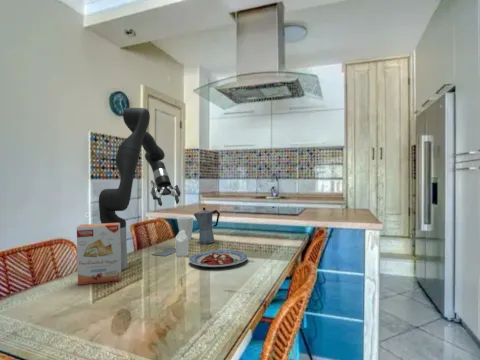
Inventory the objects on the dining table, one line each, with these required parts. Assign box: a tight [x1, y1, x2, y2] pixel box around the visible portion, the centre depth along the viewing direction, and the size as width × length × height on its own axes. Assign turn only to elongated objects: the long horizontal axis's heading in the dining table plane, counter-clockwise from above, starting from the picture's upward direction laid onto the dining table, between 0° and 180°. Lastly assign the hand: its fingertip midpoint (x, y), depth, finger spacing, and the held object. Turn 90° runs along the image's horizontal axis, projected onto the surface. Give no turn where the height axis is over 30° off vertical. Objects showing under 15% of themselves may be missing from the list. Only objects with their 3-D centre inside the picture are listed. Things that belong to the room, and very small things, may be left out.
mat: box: [151, 247, 176, 257], centre depth 152 cm, size 14×8×1 cm, turn 157°
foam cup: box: [177, 216, 194, 240], centre depth 183 cm, size 10×9×13 cm
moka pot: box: [192, 207, 221, 245], centre depth 173 cm, size 10×15×20 cm, turn 115°
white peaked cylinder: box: [175, 230, 189, 257], centre depth 146 cm, size 6×12×6 cm
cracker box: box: [76, 223, 122, 286], centre depth 111 cm, size 14×6×21 cm, turn 105°
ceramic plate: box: [188, 249, 249, 269], centre depth 133 cm, size 26×26×3 cm
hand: (169, 204), depth 155 cm, fingers open, 8 cm apart
